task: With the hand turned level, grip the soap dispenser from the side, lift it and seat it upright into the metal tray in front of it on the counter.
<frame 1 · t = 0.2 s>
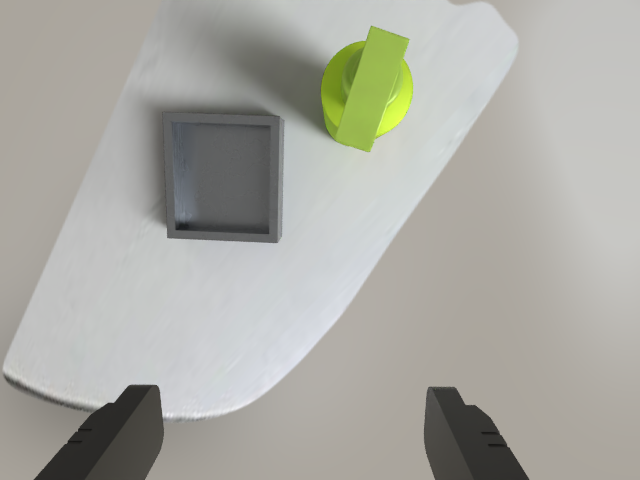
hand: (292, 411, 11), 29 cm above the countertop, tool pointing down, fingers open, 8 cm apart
metal tray: (230, 178, 39), on the countertop
soap dispenser: (352, 121, 37), on the countertop
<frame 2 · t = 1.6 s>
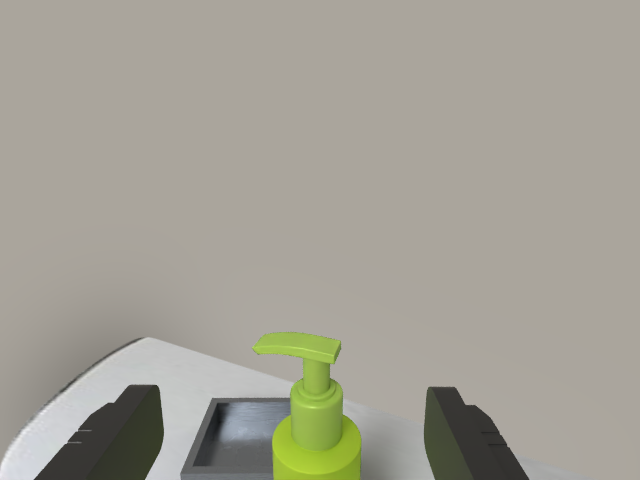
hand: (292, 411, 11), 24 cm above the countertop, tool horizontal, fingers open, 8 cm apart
metal tray: (255, 457, 40), on the countertop
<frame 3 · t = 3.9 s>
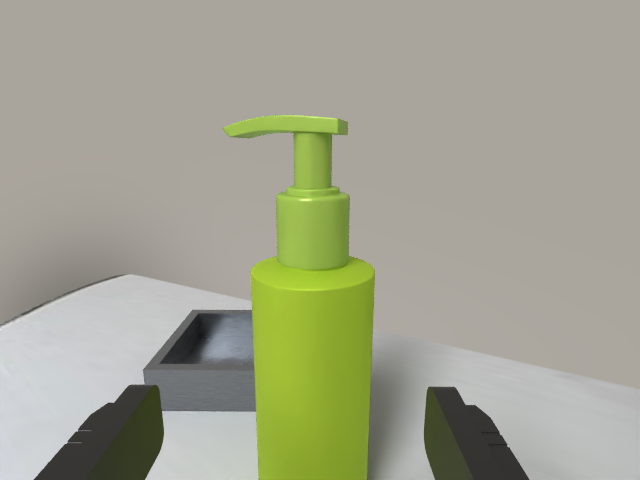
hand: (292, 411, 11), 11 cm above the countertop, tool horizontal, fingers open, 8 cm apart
metal tray: (241, 370, 33), on the countertop
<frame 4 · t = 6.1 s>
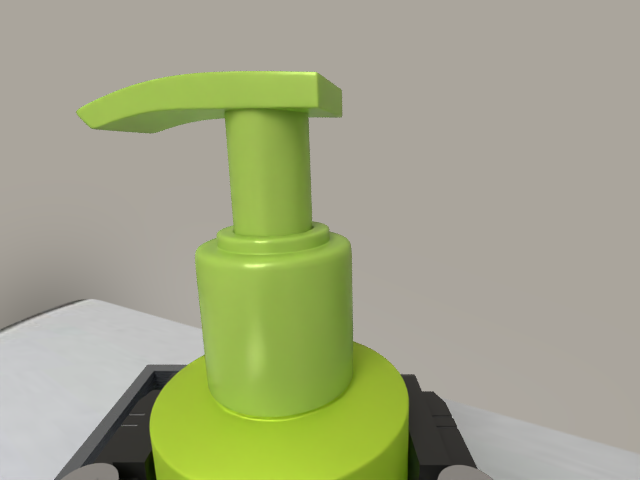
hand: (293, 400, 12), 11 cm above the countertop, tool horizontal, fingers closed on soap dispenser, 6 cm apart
metal tray: (208, 459, 24), on the countertop
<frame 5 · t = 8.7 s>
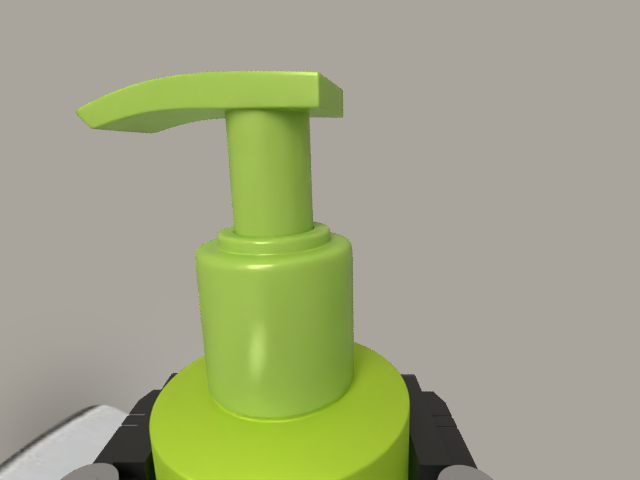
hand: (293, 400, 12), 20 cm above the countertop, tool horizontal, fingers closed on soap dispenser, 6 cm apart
when the fingers open (13 cm above the countertop, at t = 11.1 s): soap dispenser stays where it is, resting on metal tray.
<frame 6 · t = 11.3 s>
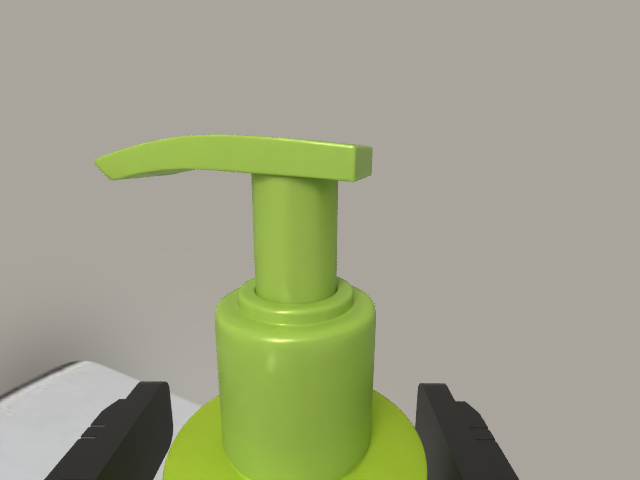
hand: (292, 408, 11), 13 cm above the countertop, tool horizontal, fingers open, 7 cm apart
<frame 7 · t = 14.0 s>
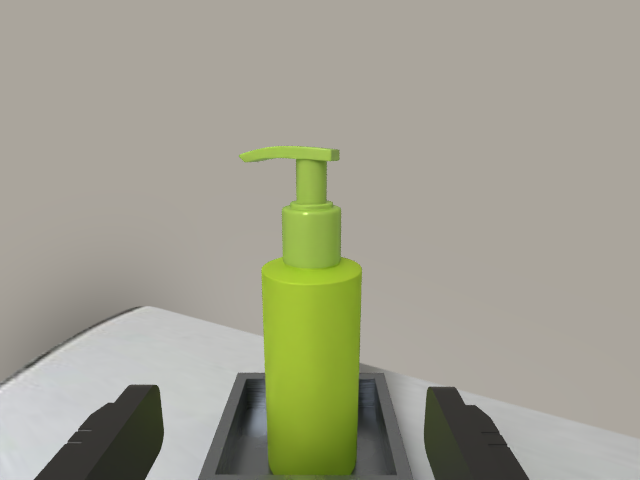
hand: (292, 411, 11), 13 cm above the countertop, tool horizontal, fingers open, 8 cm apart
metal tray: (308, 460, 26), on the countertop
soap dispenser: (305, 455, 26), point 1 cm above the countertop, touching metal tray
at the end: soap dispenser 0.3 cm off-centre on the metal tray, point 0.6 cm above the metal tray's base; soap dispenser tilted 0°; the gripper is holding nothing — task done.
